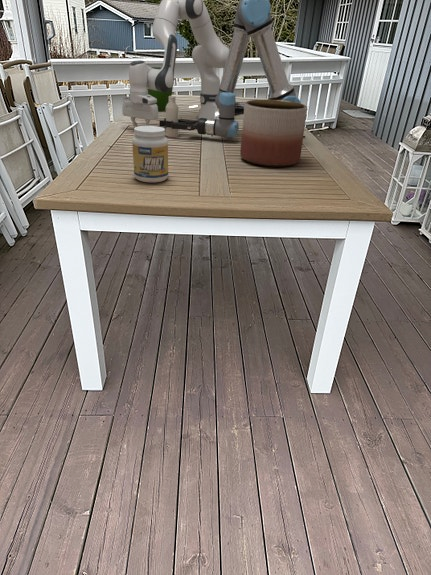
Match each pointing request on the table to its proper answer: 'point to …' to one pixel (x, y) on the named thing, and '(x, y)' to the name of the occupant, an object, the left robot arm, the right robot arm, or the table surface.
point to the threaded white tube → (171, 116)
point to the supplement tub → (150, 154)
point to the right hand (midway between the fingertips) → (162, 122)
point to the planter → (272, 132)
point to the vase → (160, 97)
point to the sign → (239, 107)
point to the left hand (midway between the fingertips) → (140, 127)
